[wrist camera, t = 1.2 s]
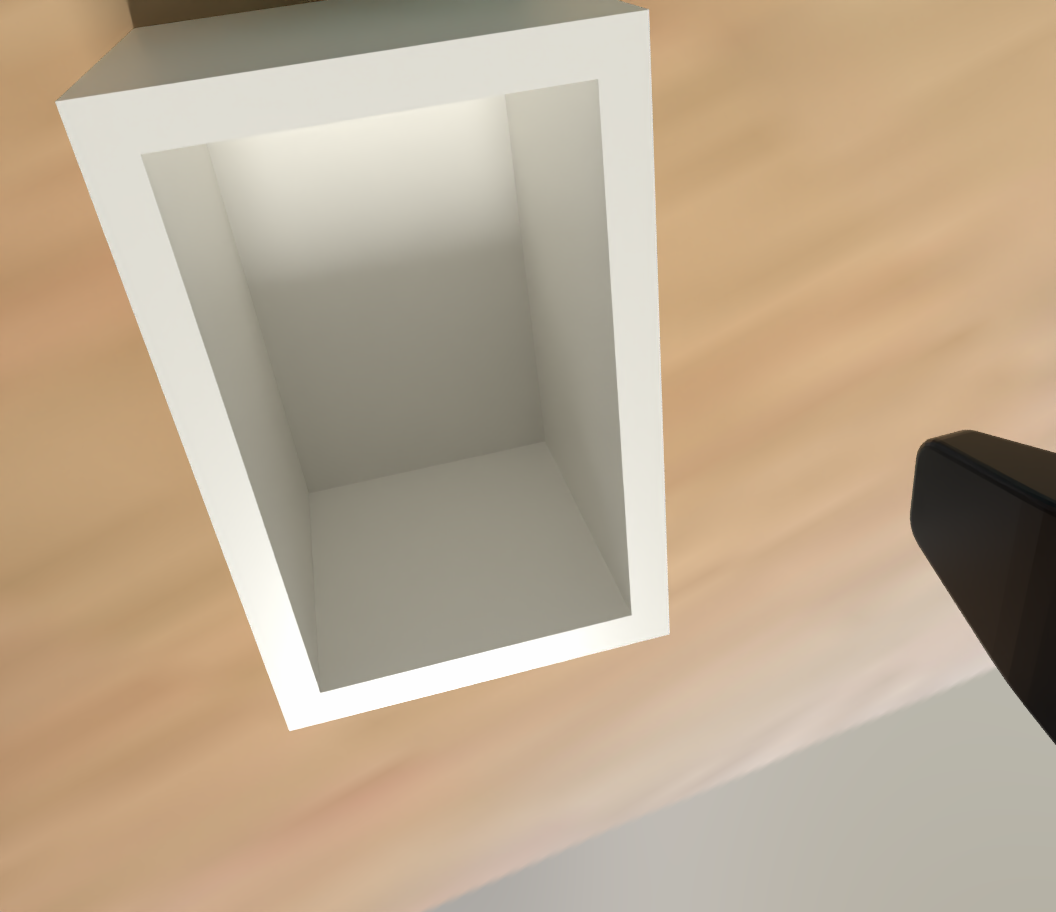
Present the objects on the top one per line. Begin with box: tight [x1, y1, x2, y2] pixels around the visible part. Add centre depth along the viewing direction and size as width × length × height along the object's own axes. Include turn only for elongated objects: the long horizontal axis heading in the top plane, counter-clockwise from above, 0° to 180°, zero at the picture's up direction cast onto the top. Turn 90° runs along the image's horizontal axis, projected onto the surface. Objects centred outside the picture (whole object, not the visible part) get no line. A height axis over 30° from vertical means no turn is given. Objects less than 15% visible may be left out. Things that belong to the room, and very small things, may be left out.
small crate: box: [55, 0, 670, 731], centre depth 14 cm, size 9×6×6 cm, turn 6°
